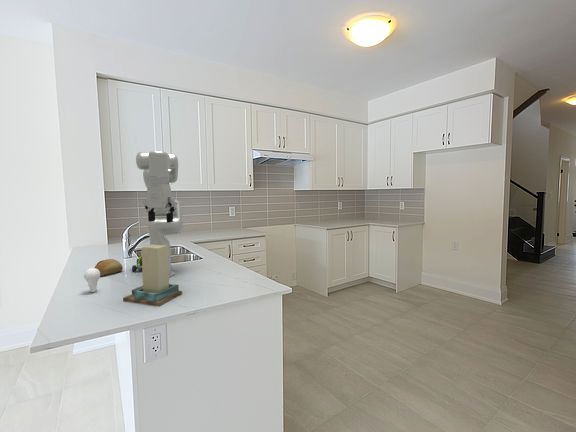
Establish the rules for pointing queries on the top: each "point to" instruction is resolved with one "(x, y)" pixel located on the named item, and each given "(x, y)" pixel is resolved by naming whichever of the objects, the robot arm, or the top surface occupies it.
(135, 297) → the board
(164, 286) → the beige long rectangular block
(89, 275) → the lightbulb
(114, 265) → the bread roll
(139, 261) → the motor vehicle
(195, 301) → the top surface
